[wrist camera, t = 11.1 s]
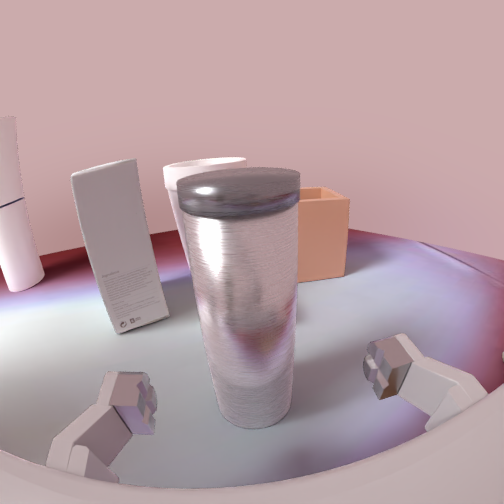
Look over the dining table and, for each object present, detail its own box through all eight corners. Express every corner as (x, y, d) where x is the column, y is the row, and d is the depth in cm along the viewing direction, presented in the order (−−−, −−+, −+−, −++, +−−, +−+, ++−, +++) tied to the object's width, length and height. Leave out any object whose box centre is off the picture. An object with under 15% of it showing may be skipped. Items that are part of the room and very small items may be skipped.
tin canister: (219, 434, 14) (167, 192, 9) (215, 377, 19) (182, 173, 13) (300, 422, 15) (318, 180, 9) (283, 368, 19) (283, 165, 14)
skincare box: (171, 318, 26) (142, 157, 20) (113, 338, 23) (68, 173, 17) (148, 283, 32) (126, 157, 26) (102, 298, 29) (72, 169, 23)
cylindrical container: (33, 289, 31) (-1, 115, 21) (2, 293, 29) (-33, 132, 20) (50, 268, 37) (23, 116, 27) (20, 273, 36) (-8, 130, 26)
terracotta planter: (285, 284, 31) (284, 202, 27) (272, 258, 37) (270, 189, 33) (344, 276, 31) (349, 199, 28) (322, 252, 38) (324, 186, 34)
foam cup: (221, 246, 42) (213, 157, 37) (267, 263, 36) (263, 158, 30) (165, 267, 36) (149, 168, 31) (206, 293, 30) (191, 168, 24)
